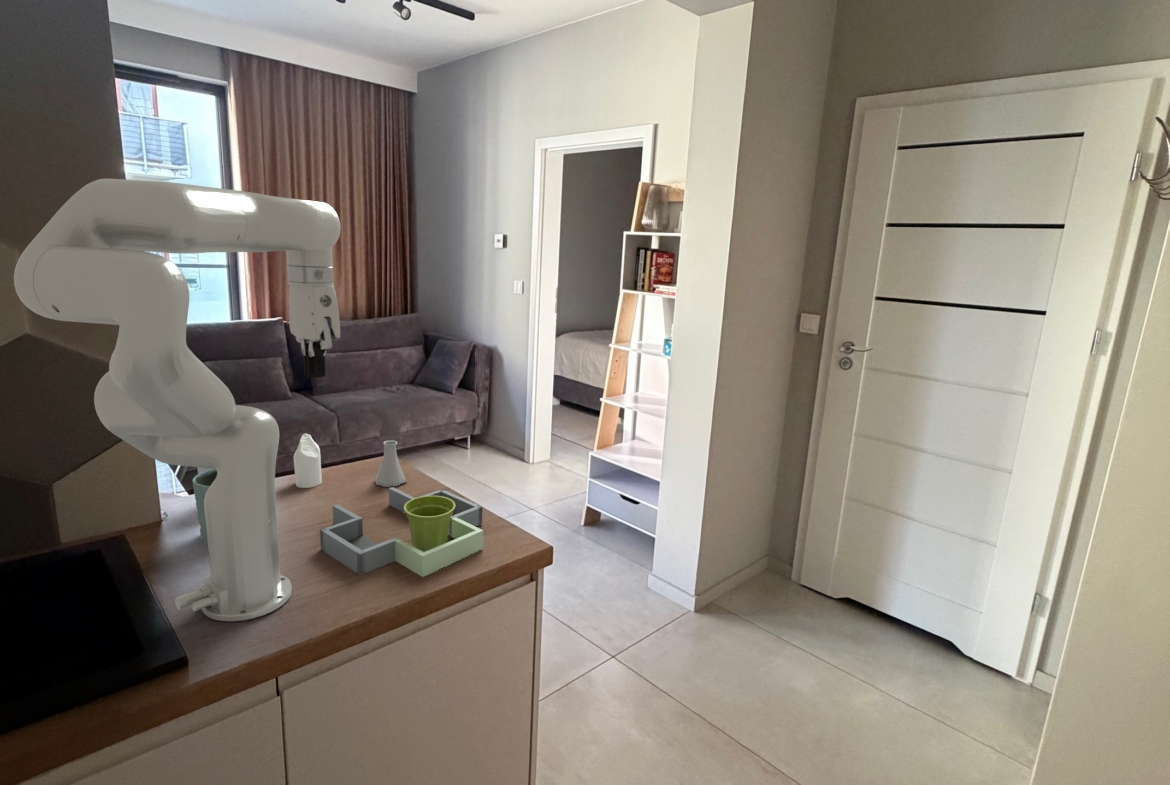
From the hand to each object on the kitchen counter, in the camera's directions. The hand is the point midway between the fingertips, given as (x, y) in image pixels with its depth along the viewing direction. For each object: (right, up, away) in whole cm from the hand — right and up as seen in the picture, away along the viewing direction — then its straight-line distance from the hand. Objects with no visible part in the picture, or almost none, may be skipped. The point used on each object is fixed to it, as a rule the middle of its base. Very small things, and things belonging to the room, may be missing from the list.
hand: (315, 376), depth 114 cm
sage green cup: (-18, -30, +3) cm, 35 cm away
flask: (+4, -25, +33) cm, 41 cm away
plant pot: (+20, -33, +3) cm, 39 cm away
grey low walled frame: (+15, -31, +7) cm, 36 cm away
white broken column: (-14, -24, +29) cm, 41 cm away
